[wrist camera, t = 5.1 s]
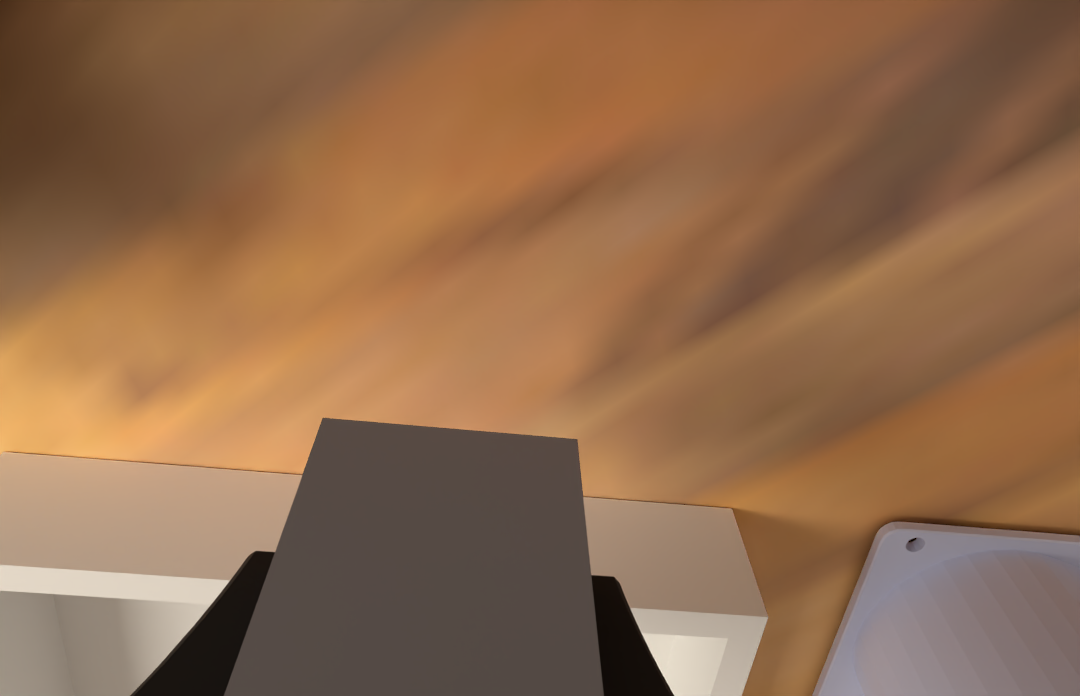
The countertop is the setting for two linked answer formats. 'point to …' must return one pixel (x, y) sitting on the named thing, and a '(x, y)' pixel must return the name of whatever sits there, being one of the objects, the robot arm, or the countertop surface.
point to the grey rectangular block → (428, 570)
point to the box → (256, 525)
